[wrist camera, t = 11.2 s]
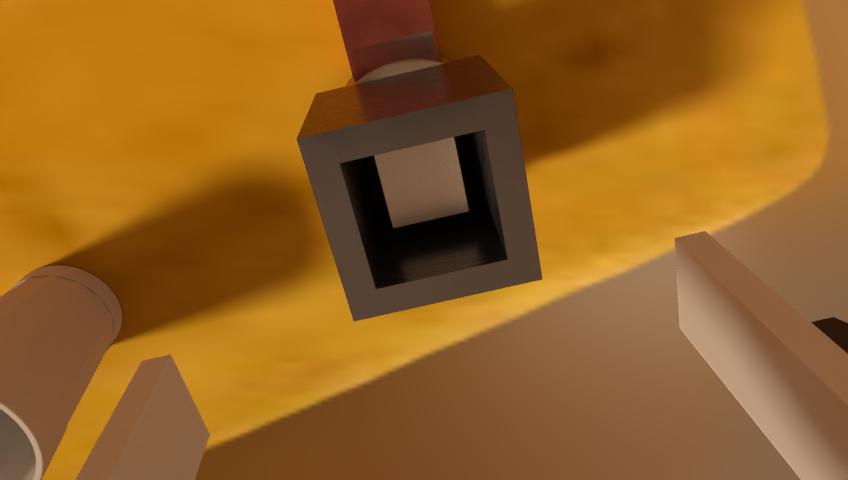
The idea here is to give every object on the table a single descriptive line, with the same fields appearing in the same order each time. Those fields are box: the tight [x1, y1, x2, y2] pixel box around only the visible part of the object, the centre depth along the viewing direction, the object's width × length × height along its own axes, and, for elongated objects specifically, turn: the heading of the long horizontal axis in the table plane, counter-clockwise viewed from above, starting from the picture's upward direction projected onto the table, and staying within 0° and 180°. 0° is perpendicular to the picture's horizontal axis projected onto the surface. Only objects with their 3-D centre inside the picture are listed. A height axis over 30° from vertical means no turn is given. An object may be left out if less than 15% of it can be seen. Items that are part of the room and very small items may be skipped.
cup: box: [0, 265, 122, 480], centre depth 33 cm, size 8×8×12 cm
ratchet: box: [333, 0, 479, 228], centre depth 29 cm, size 22×9×8 cm, turn 12°
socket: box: [297, 55, 542, 321], centre depth 28 cm, size 8×8×8 cm
